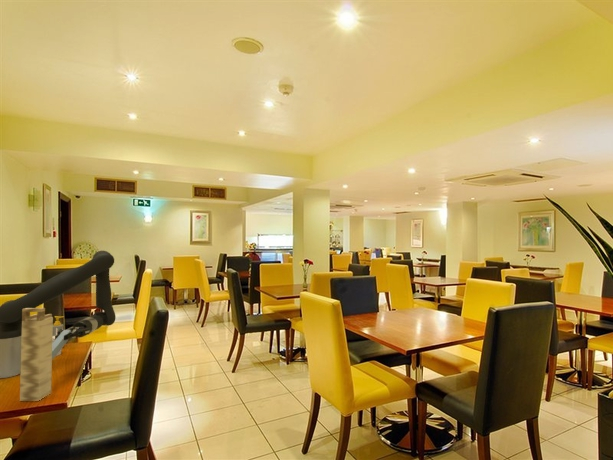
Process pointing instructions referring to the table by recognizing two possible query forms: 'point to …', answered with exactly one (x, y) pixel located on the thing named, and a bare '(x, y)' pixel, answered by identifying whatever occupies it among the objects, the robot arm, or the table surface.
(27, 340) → the tall patterned tan block
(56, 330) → the smoothie
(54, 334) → the soap bottle
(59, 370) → the table surface
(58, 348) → the bar
